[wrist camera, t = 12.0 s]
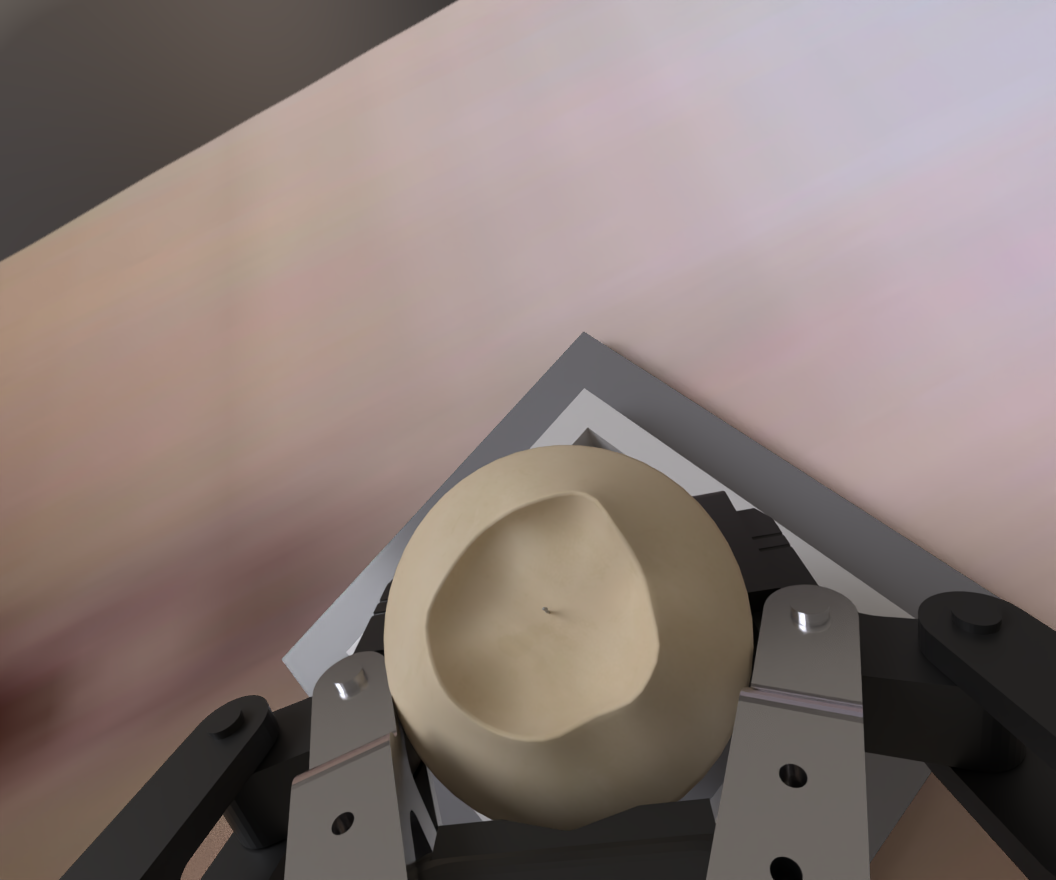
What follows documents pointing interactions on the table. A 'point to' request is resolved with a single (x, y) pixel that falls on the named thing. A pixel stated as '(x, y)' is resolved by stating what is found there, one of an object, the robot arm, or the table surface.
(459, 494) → the candle
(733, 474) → the candle tray
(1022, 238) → the table surface
